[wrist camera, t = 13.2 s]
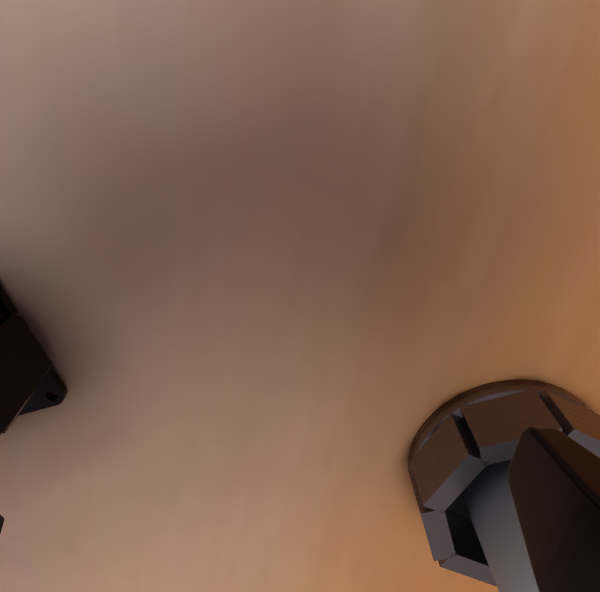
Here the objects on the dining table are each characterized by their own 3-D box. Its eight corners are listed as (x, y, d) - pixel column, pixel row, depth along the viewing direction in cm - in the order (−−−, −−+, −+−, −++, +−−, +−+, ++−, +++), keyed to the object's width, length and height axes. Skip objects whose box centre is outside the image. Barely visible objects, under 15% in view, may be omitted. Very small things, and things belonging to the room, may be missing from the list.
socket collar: (427, 535, 28) (444, 599, 24) (390, 408, 24) (406, 465, 21) (598, 497, 27) (640, 558, 23) (590, 357, 23) (639, 409, 20)
